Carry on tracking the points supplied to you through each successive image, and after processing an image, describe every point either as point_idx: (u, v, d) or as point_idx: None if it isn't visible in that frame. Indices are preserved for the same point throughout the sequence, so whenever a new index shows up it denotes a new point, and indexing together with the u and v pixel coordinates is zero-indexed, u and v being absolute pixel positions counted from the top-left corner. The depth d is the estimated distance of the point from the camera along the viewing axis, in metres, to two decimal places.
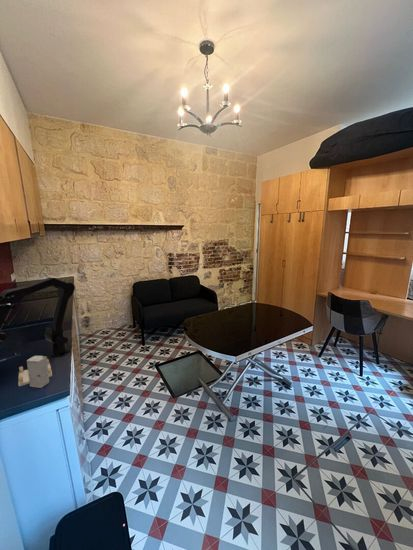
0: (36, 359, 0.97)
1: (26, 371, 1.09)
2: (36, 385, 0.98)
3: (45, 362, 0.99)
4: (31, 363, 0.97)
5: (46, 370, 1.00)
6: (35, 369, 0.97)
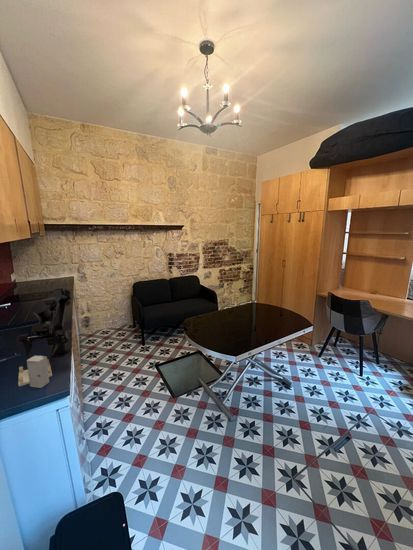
0: (36, 359, 0.97)
1: (26, 371, 1.09)
2: (36, 385, 0.98)
3: (45, 362, 0.99)
4: (31, 363, 0.97)
5: (46, 370, 1.00)
6: (35, 369, 0.97)
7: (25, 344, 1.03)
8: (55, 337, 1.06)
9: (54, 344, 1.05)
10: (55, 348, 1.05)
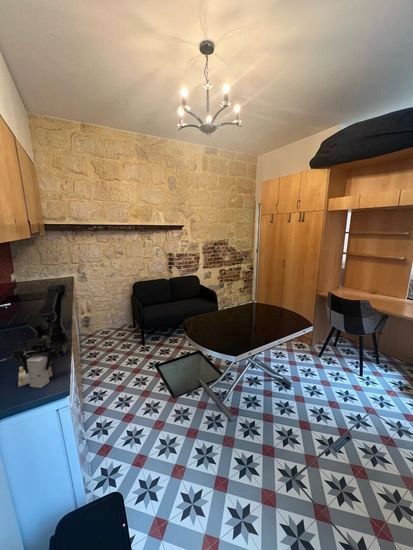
0: (36, 359, 0.97)
1: None
2: (36, 385, 0.98)
3: (45, 362, 0.99)
4: (31, 363, 0.97)
5: None
6: (35, 369, 0.97)
7: (23, 359, 0.98)
8: (50, 352, 1.01)
9: (48, 360, 1.00)
10: (50, 364, 1.01)
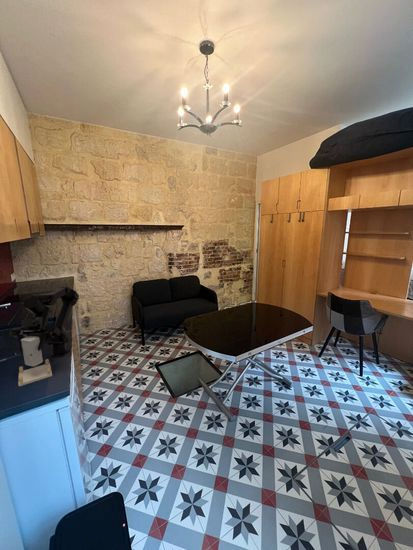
0: (29, 339, 1.02)
1: (26, 371, 1.09)
2: (30, 364, 1.03)
3: (37, 342, 1.03)
4: (24, 342, 1.02)
5: None
6: (27, 349, 1.01)
7: (19, 338, 1.04)
8: (42, 333, 1.04)
9: (41, 340, 1.04)
10: (42, 344, 1.04)
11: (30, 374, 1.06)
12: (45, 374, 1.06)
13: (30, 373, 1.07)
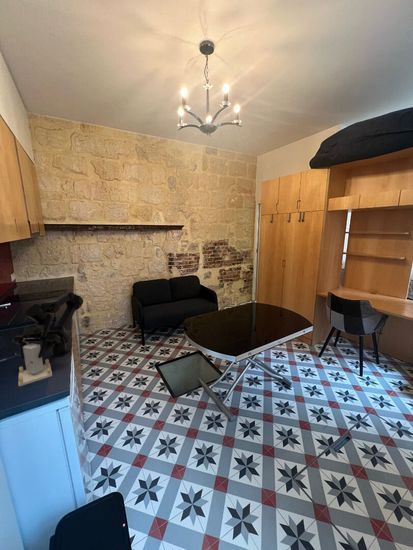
0: (30, 346, 1.04)
1: (26, 371, 1.09)
2: (30, 371, 1.05)
3: (38, 350, 1.06)
4: (25, 350, 1.04)
5: None
6: (29, 356, 1.04)
7: (21, 345, 1.06)
8: (43, 341, 1.07)
9: (42, 348, 1.06)
10: (43, 352, 1.06)
11: (30, 374, 1.06)
12: (45, 374, 1.06)
13: (30, 373, 1.07)
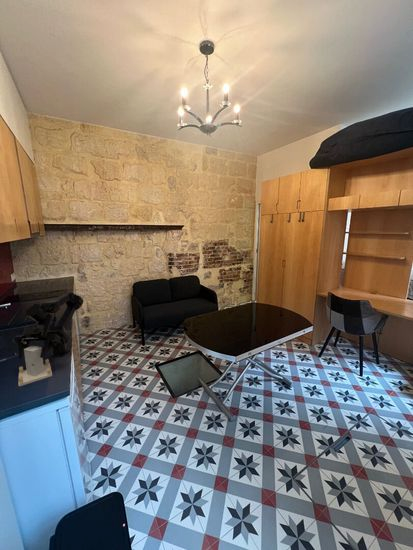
0: (31, 349, 1.05)
1: (26, 371, 1.09)
2: (31, 373, 1.05)
3: (39, 352, 1.06)
4: (27, 352, 1.04)
5: (40, 360, 1.07)
6: (30, 358, 1.04)
7: (19, 345, 1.06)
8: (45, 341, 1.07)
9: (44, 348, 1.06)
10: (45, 352, 1.06)
11: None
12: (45, 374, 1.06)
13: None
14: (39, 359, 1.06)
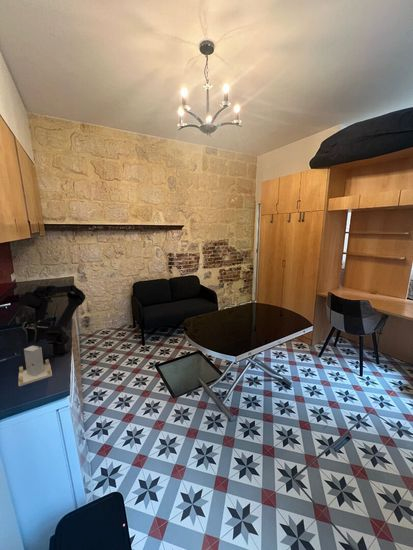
0: (31, 349, 1.05)
1: (26, 371, 1.09)
2: (31, 373, 1.05)
3: (39, 352, 1.06)
4: (27, 352, 1.04)
5: (40, 360, 1.07)
6: (30, 358, 1.04)
7: (26, 331, 1.13)
8: (34, 328, 1.06)
9: (35, 334, 1.07)
10: (38, 337, 1.07)
11: None
12: (45, 374, 1.06)
13: None
14: (39, 359, 1.06)
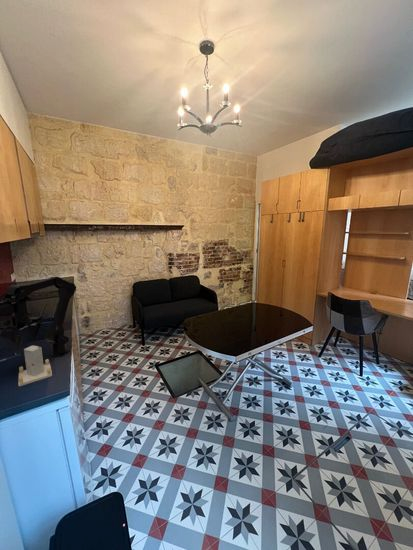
0: (31, 349, 1.05)
1: (26, 371, 1.09)
2: (31, 373, 1.05)
3: (39, 352, 1.06)
4: (27, 352, 1.04)
5: (40, 360, 1.07)
6: (30, 358, 1.04)
7: None
8: None
9: None
10: (15, 344, 1.05)
11: None
12: (45, 374, 1.06)
13: None
14: (39, 359, 1.06)
